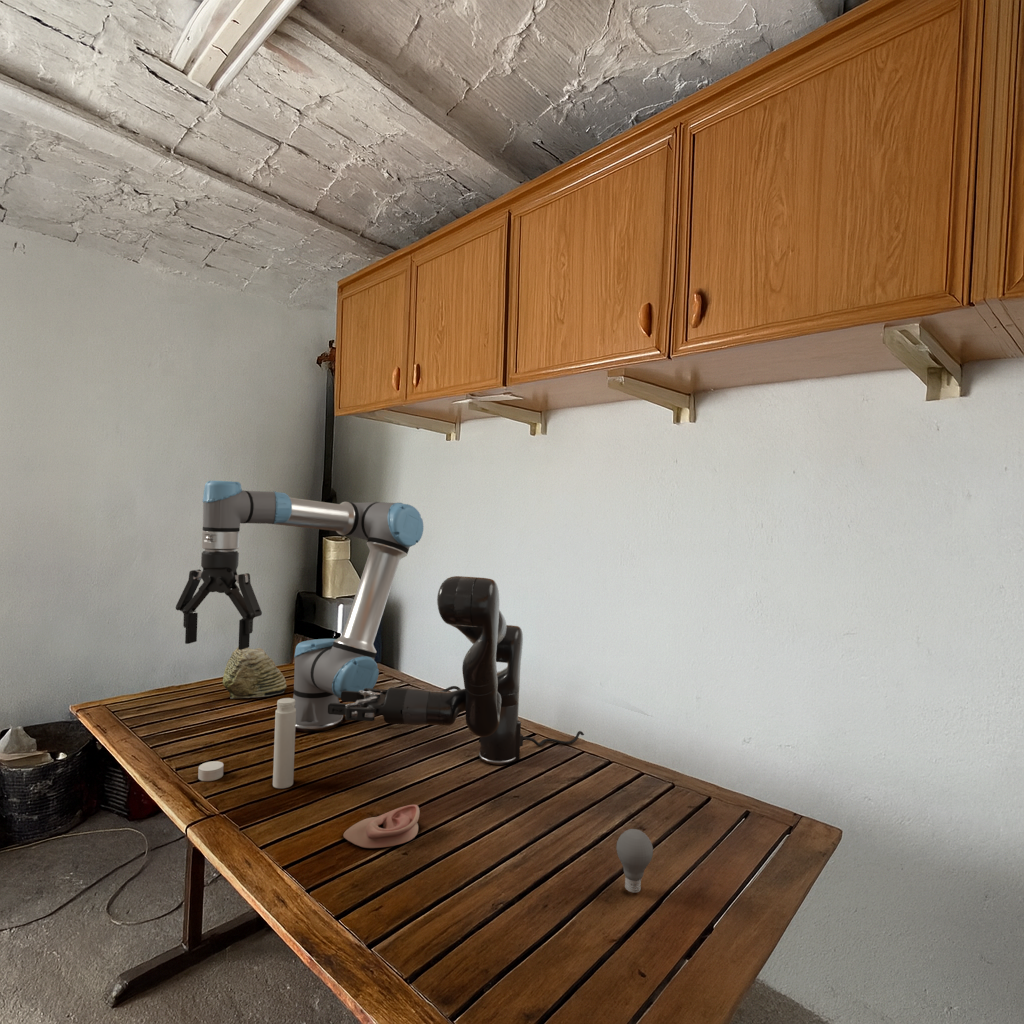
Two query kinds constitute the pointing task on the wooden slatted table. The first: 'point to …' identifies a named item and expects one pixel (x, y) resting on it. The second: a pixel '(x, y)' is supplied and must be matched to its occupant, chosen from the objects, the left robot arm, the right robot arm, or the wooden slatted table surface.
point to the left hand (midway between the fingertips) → (217, 645)
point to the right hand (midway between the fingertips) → (335, 702)
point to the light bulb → (634, 857)
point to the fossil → (252, 675)
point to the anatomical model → (385, 828)
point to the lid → (210, 771)
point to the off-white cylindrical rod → (284, 743)
